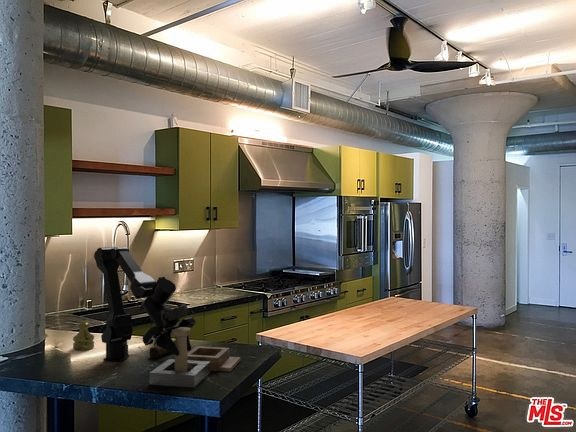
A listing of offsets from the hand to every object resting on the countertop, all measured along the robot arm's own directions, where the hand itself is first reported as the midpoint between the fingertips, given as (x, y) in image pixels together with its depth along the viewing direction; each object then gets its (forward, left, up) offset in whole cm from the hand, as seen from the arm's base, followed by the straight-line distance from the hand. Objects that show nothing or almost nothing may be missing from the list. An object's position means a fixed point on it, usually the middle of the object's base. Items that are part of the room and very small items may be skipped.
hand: (184, 352), depth 152 cm
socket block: (-1, 0, -8) cm, 8 cm away
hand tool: (-17, +28, -8) cm, 33 cm away
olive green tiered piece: (-50, +25, -8) cm, 57 cm away
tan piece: (+2, +15, -8) cm, 18 cm away
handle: (-1, 0, -8) cm, 8 cm away
